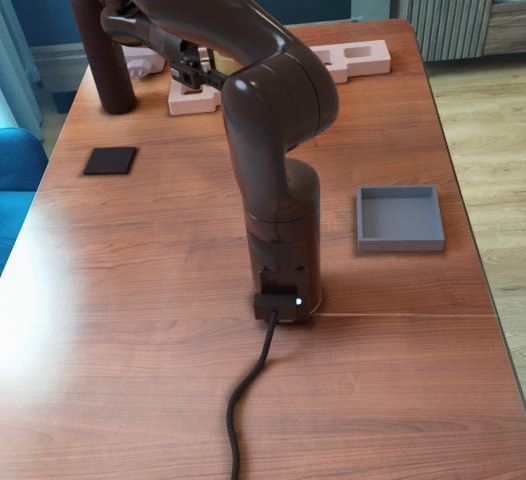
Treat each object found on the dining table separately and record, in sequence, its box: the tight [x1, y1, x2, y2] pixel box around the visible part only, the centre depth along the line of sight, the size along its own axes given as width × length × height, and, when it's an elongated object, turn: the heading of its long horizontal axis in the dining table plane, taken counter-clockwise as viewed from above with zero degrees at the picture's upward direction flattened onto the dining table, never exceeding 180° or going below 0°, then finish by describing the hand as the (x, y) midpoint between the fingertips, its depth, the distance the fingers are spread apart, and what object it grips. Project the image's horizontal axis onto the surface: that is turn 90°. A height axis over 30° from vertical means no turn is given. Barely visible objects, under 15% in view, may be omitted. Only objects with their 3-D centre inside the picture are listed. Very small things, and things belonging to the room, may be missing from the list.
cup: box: [213, 51, 243, 111], centre depth 85 cm, size 7×7×10 cm
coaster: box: [82, 146, 137, 176], centre depth 108 cm, size 8×8×1 cm
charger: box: [122, 45, 166, 78], centre depth 128 cm, size 5×9×15 cm
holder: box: [167, 39, 392, 116], centre depth 120 cm, size 45×18×3 cm, turn 91°
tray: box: [356, 183, 446, 252], centre depth 89 cm, size 13×12×3 cm
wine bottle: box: [69, 0, 137, 115], centre depth 109 cm, size 7×7×30 cm
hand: (249, 76), depth 83 cm, fingers closed on cup, 6 cm apart
